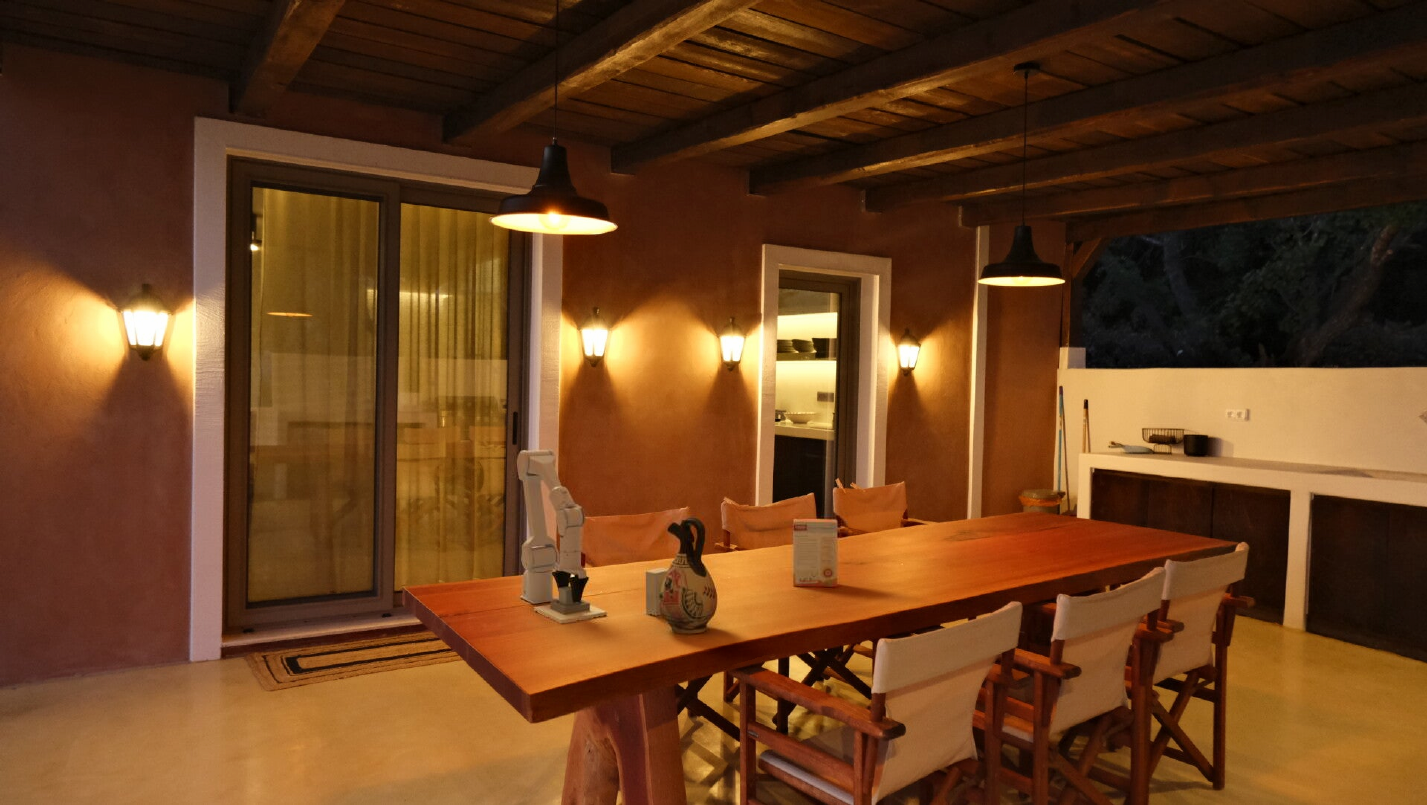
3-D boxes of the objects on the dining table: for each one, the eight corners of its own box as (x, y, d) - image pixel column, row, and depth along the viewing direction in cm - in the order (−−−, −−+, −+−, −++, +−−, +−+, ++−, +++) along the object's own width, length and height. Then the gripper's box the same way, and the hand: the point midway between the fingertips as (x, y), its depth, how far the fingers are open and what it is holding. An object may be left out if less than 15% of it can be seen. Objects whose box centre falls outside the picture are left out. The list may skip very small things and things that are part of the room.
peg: (558, 609, 247) (558, 587, 247) (571, 607, 250) (571, 585, 250) (565, 612, 244) (565, 590, 244) (578, 610, 247) (578, 588, 247)
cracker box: (836, 583, 286) (837, 518, 285) (837, 588, 280) (838, 521, 279) (792, 582, 287) (793, 517, 286) (792, 586, 281) (793, 520, 280)
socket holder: (534, 610, 249) (534, 600, 249) (578, 603, 258) (578, 593, 258) (561, 623, 237) (561, 612, 237) (606, 615, 245) (606, 604, 245)
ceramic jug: (645, 629, 232) (646, 515, 231) (689, 618, 243) (690, 509, 242) (690, 643, 220) (691, 523, 219) (733, 631, 231) (734, 516, 230)
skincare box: (659, 609, 252) (660, 567, 252) (670, 612, 250) (671, 569, 249) (644, 613, 248) (645, 570, 247) (656, 616, 245) (656, 573, 245)
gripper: (545, 547, 250) (544, 595, 250) (570, 556, 239) (570, 606, 239) (567, 545, 254) (567, 592, 255) (593, 553, 243) (592, 602, 243)
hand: (570, 599), depth 247 cm, fingers open, 7 cm apart
